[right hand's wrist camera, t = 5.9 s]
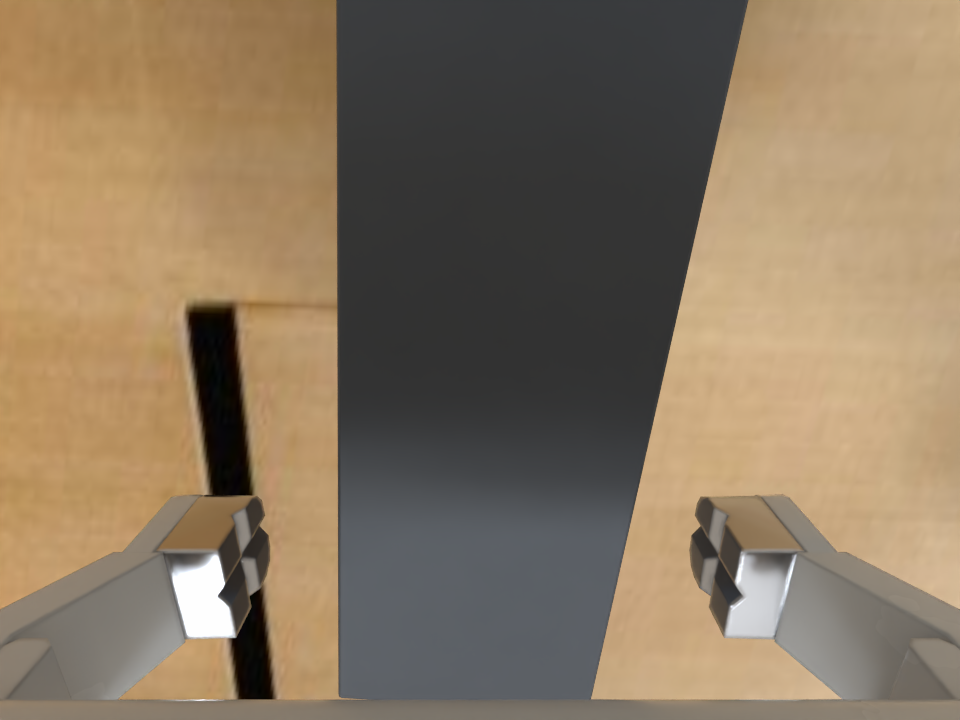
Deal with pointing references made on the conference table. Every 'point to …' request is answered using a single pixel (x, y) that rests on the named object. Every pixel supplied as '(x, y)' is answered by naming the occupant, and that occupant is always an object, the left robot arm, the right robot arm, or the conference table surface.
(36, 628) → the right robot arm
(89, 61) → the conference table surface
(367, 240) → the bar
